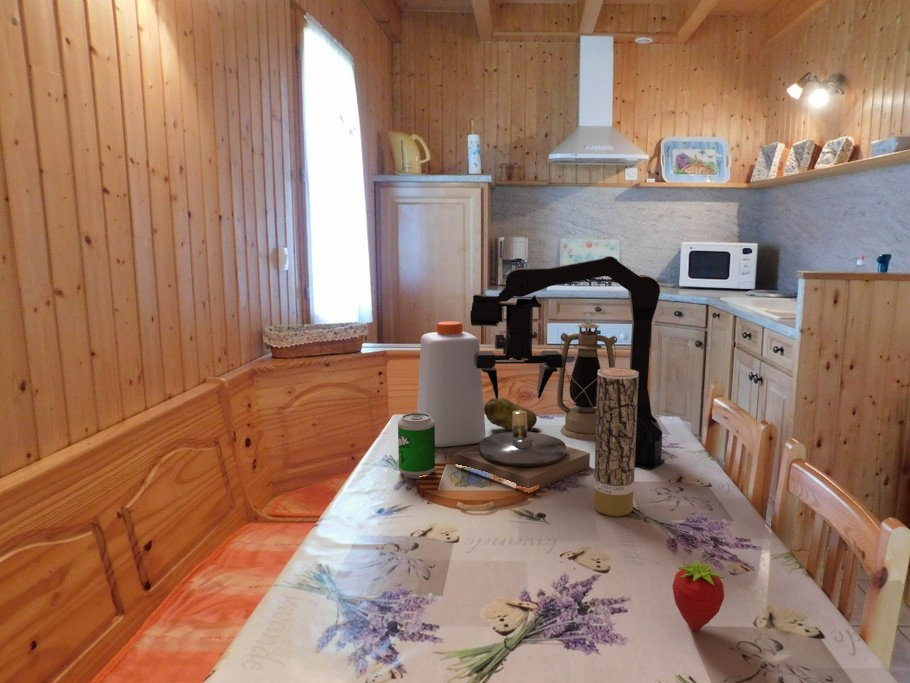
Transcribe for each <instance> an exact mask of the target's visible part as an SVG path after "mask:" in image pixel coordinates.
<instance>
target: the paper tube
mask: <svg viewBox="0 0 910 683" xmlns="http://www.w3.org/2000/svg"><path fill="white" fill-rule="evenodd" d="M638 378H639V375H638V372H637V371H635V370H632V369H630V368H625V367H623V368H622V367H615V368H609V367H605V368H601V369H599V370H598V375H597V404H596V405H597V406H596V407H595V408H596V439H595V440H594V441H595V443H594V444H595V445H594V474H593V475H594V476H593V477H594V479H593V507H594V509H595V510H596V511H597V512H599V513H600V514H602V515H605V516H609V517H623V516H627V515H629V514H631V512H632V511H633V509H634V490H635V472H636V471H635V469H636V466H635V449H636V425H637V401H638Z"/></svg>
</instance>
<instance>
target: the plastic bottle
mask: <svg viewBox="0 0 910 683" xmlns="http://www.w3.org/2000/svg"><path fill="white" fill-rule="evenodd" d="M419 348H420V352H419V353H420V354H419V368H418V386H417V388H418V389H417V403H416V404H417V406H416V413H425V414H428V415H430V416H431V418H432V419H433V420H434V421H435V448H445V447H446V448H448V447H455V446H456V447H457V446H465V445H474V444H475V445H476V444H478V443H479V444H480V442H481V440H483V439H484V438H486V433H487V432H486V422H485V412H484V406H485V404H484V392H483V377H482V370H481V369H479V368H476V366H475V364H474V356H475V353H476V352H477V351H481V349H480V348H481V347H480V340H479V338H478V337H477V336H475V335H473V334H471V333H469V332H466V331H463V323H462V322H460V321H453V320H452V321H451V320H450V321H449V320H446V321H439V322H437V324H436V332H428V333H424V334H423V335H422V336H421V337H420V347H419Z"/></svg>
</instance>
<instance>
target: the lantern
mask: <svg viewBox="0 0 910 683" xmlns="http://www.w3.org/2000/svg"><path fill="white" fill-rule="evenodd" d="M586 313H587V311H585V312H584V313H583V315H585V314H586ZM589 313H590V314H591V315H593V313H592V312H591V311H589ZM585 321H586V320H585V319H583V323H581V324H578V325H577V327H578V328H579V330H578V331H579V333H572V334H569V335H568V334H567V333H566V332H562V334H561V335H560V339H561V341H560V342H561V343H560V351H561V355H562V356H563V357H564V367H563V368H559V369H558V381H557V393H556V394H557V395H556V396H557V397H556V400H557V402H556V403H557V406H558V407H559V409H560V410H561V411H563V412H565V413H566V414H565V417H564V419H565V420H564V421H565V422H564V425H563V426H562V427H561V428H560V434H562V436H565V437H567V438H570V439H574V440H582V441H595V439H596V407H597V375H598V370H599V369H602V368H601V364H600V361H599V354H598V349H600V350H601V349H602V348H603V347H602V345H600V344H598V342H602V343H604V344H605V349H606V353H607V360H608V368H616V360H617V352H616V344H617V342H618V338H617V336H615V335H613V336H610V337H609V338H608V336H605V335H600V334H598V329H599V328H600V325H597V324H595V323H593V320H591V322H585ZM582 329H584V330H582ZM592 329H594V331H592ZM574 340H575V341H578V342H577V344H575V345H573V348H575V349H577V354H576V355H577V356H576V360H575V361H574V366H573V370H572V372H571V373H570V378H569V374H568V372H567V369H566V366H567V360H568V354H569V349H570V345H571V342H572V341H574ZM562 344H563V345H562ZM613 345H614V346H613ZM613 347H614V349H613ZM565 374H566V377H567V378H568V381H569V389H568V390H569V396H570V399H571V400H572V403H571V402H570V400H566V399H564V383H565ZM564 401H567V402H569V404H570V405H571V406H572V408H571V407H568V406H566V405H565V404H564ZM573 405H574V407H573Z"/></svg>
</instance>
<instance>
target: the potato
mask: <svg viewBox="0 0 910 683" xmlns="http://www.w3.org/2000/svg"><path fill="white" fill-rule="evenodd" d="M519 410H520V411H526V412H527V430H529V429H533V427H535V426H536V424H537V420H538V419H537V414H536V413H535V412H534V411H533V410H531V409H530V408H529V409H528V408H526V407H524V406H521V405H519V404H517V403H515V402H513V401H511V400H509V399H507V398H504V397H498V399H496V397H493V398H490V399H489V400H488V401H486V403H485V404H484V415H485V416H486V420H488V421H489V422H490V423H491V424H492V425H495V426H498V427H500V428H502V429H505V430H506V431H507V430H508V431H509V432H512V412H513V411H519Z"/></svg>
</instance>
